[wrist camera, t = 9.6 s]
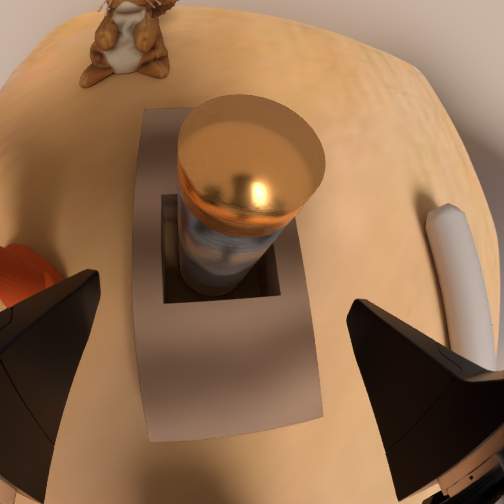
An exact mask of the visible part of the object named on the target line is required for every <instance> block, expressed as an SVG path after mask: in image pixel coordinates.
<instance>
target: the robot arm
mask: <svg viewBox="0 0 504 504" xmlns="http://www.w3.org/2000/svg"><path fill="white" fill-rule="evenodd" d="M100 295H101V290H100V279H99V273H98V271H97V270H91V269H86V270H83V271H81V272H79V273H77V274H75V275H73V276H71V277H69V278H67V279H64V280H62V281H60V282H58V283H56V284H54V285H52V286H50V287H48V288H46V289H44V290H42V291H40V292H38V293H36V294H34V295H32V296H30V297H28V298H26V299H24V300H22V301H20V302H18V303H16V304H15V305H13V307H12V306H11V307H9V308H7V309H5V310H3V311H1V312H0V504H14V502H15V497H16V492H17V493H19V494H21V495H23V496H25V497H27V498H29V499H31V500H33V501H36V502H38V503H40V504H44V500H45V493H46V487H47V481H48V475H49V470H50V465H51V460H52V455H53V451H54V445H55V441H56V437H57V433H58V429H59V426H60V422H61V418H62V415H63V411H64V408H65V404H66V401H67V398H68V395H69V391H70V388H71V385H72V382H73V379H74V376H75V373H76V370H77V368H78V365H79V362H80V359H81V357H82V354H83V351H84V349H85V346H86V343H87V341H88V338H89V335H90V332H91V328H92V325H93V321H94V317H95V314H96V310H97V307H98V304H99V300H100ZM346 322H347V326H348V330H349V334H350V338H351V343H352V347H353V351H354V355H355V358H356V361H357V364H358V367H359V370H360V373H361V375H362V378H363V381H364V384H365V387H366V390H367V393H368V397H369V400H370V403H371V406H372V409H373V412H374V415H375V419H376V422H377V425H378V429H379V432H380V435H381V439H382V442H383V446H384V449H385V452H386V457H387V461H388V464H389V468H390V472H391V476H392V480H393V484H394V488H395V492H396V496H397V499H398V501H402V500H404V499H406V498H409V497H411V496H413V495H415V494H417V493H419V492H421V491H423V490H425V489H427V488H429V487H431V486H433V485H435V484H437V483H438V484H439V486H440V489H441V491H439V492H437V493H436V494H434V495H432V496H430V497H429V498H427V499H425V500H424V501H423V502H422V504H504V371H490V370H487V369H485V368H483V367H481V366H479V365H477V364H475V363H473V362H472V361H470V360H468V359H466V358H464V357H462V356H460V355H459V354H457V353H455V352H453V351H452V350H450V349H448V348H447V347H445V346H443V345H441V344H440V343H438V342H435V340H433V339H432V338H430V337H428V336H427V335H425V334H423V333H422V332H420V331H418V330H417V329H415V328H413V327H412V326H410V325H408V324H407V323H405V322H403V321H402V320H400V319H398V318H397V317H395V316H393V315H392V314H390V313H388V312H386V311H385V310H383V309H381V308H380V307H378V306H376V305H375V304H373V303H371V302H370V301H368V300H366V299H355V300H354V302H353V304H352V306H351V308H350V311H349V313H348V315H347V319H346Z"/></svg>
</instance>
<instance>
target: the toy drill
mask: <svg viewBox="0 0 504 504" xmlns="http://www.w3.org/2000/svg"><path fill="white" fill-rule="evenodd" d="M62 280H63V278H62V277H61V275H60V274H59V273H58V272H57V271H56V270H55V268H54V267H53V266H52V265H51V264H49V263H48V262H47V261H46V260H45V259H44V258H42V257H41V256H40V255H39V254H37V253H36V252H35V251H33V250H32V249H30V248H28V247H26V246H24V245H19V244H10V245H8V246H7V247H5V248H3V247H1V246H0V300H1V301H2V302H3V303H4V304H5V306H6V307H7V308H9V307H11V306H12V307H13V305H15V304H16V303H18V302H20V301H22V300H24V299H26V298H28V297H30V296H32V295H34V294H36V293H38V292H40V291H42V290H44V289H46V288H48V287H50V286H52V285H54V284H56V283H58V282H60V281H62Z"/></svg>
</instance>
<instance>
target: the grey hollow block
mask: <svg viewBox="0 0 504 504" xmlns="http://www.w3.org/2000/svg"><path fill="white" fill-rule="evenodd" d="M194 109H196V108H159V109H145V110H144V116H143V122H142V129H141V136H140V144H139V152H138V160H137V170H136V181H135V193H134V209H133V231H132V296H133V318H134V333H135V346H136V356H137V366H138V375H139V383H140V390H141V397H142V404H143V410H144V416H145V422H146V427H147V432H148V438H149V442H173V441H190V440H202V439H212V438H221V437H229V436H236V435H243V434H249V433H255V432H261V431H266V430H271V429H276V428H281V427H285V426H290V425H294V424H298V423H302V422H306V421H310V420H314V419H318V418H321V417H323V407H322V397H321V388H320V379H319V370H318V362H317V354H316V346H315V339H314V331H313V324H312V317H311V310H310V304H309V297H308V291H307V284H306V278H305V272H304V266H303V260H302V254H301V248H300V243H299V237H298V232H297V226H296V221H295V216H294V218H293V219H292V220H291V221H290V222H289V224H288V225H287V226H286V227H285V229H284V230H283V231H282V232H281V233H280V235H279V236H278V237H277V238H276V239H275V241H274V242H273V243H272V244H271V245H270V247H269V248H268V249H267V250H266V251H265V253H264V254H263V255H262V256H261V257H260V259H259V260H258V261H257V262H258V270H259V278H260V286H261V294H262V297H258V298H246V299H233V300H220V301H205V302H189V303H170V304H167V291H166V270H165V224H164V221H178V192H177V167H178V137H179V132H180V129H181V126H182V124H183V122H184V121H185V119H186V118H187V117H188V115H189V114H190V113H191V112H192V111H193V110H194Z"/></svg>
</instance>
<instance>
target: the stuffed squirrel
mask: <svg viewBox="0 0 504 504" xmlns="http://www.w3.org/2000/svg"><path fill="white" fill-rule="evenodd" d="M176 1H179V0H106V1H105V2H104V3H103V4H102V6H101V7H100V9H99V10H98V12H100V10H101V8H102V7H103V5H104V4H105V3H106V2H107V5H108V6H107V9H106V13H105V16H104V19H103V21H102V22H101V24H100V25H99V27H98V28H97V30H96V32H95V42H94V43H93V44H92V46H91V49H90V58H91V61H92V64H91V65H90V66H88V68H87V69H86V70H85V71H84V72H83V74H82V76H81V78H80V82H79V85H80V86H81V87H82V88H88V87H90V86H92V85H94V84H95V83H97V82H99V81H101V80H102V79H104V78H106V77H107V76H109V75H110V74H111V73H113V72H114V73H116V74H124V73H131V72H134V71H136V70H137V71H139V72H140V73H143V74H146V75H149V76H152V77H156V78H160V79H162V78H164V77H166V76H167V75H168V73H169V59H168V52H167V49H166V48H165V46H164V43H163V37H162V33H161V30H160V27H159V20H158V17H159V16H160V15H162V14H165V13H166V11H167V10H170V9H171V8H172V7H173V6H175V3H176ZM108 8H110V9H109V10H108Z"/></svg>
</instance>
